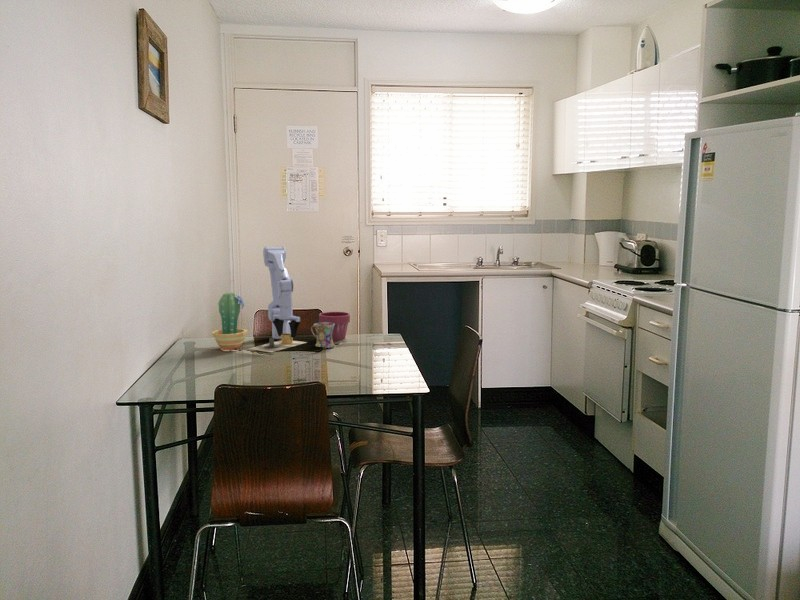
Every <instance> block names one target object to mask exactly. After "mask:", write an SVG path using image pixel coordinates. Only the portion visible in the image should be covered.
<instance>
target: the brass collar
mask: <svg viewBox="0 0 800 600" xmlns="http://www.w3.org/2000/svg"><path fill="white" fill-rule="evenodd" d="M280 340H281V344H292V343H293V341H294V337H293V338H292V337H291V334H290V333H285V334H281V339H280Z"/></svg>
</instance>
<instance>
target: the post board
mask: <svg viewBox="0 0 800 600" xmlns="http://www.w3.org/2000/svg"><path fill="white" fill-rule="evenodd" d="M268 339H269V341H268V343H265V344H261V345H257V346H253V347H249V348H248V349H247V351H251V352H250V353H254V352H258V353H257V354H261V353H264V352H265V353H266V354H265V355H268V354H272V353H273V352H274V353H275V352H278V351H282V350H285V349H290V348H292V347H296V346H301V345H303V344H307V343H308V342H307V341H300V340H293V343H292V344H281V339H279V340H277V341H275V339H274V338H272V337H269V338H268ZM247 351H246V352H247Z"/></svg>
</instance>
